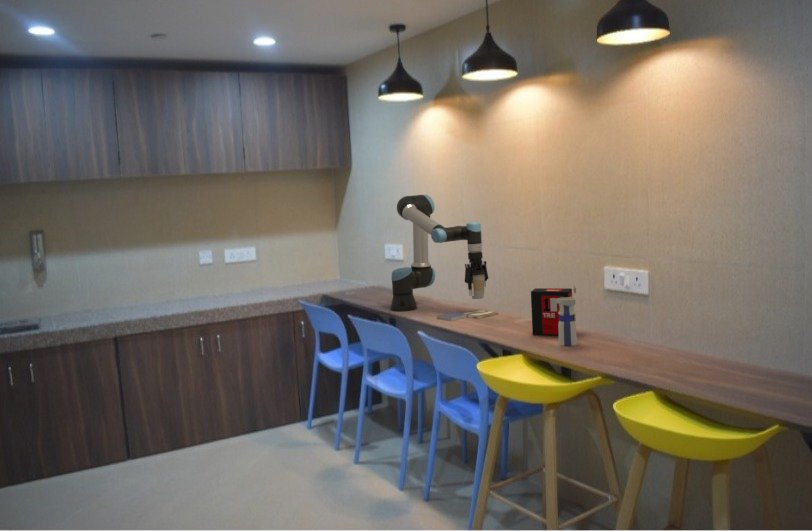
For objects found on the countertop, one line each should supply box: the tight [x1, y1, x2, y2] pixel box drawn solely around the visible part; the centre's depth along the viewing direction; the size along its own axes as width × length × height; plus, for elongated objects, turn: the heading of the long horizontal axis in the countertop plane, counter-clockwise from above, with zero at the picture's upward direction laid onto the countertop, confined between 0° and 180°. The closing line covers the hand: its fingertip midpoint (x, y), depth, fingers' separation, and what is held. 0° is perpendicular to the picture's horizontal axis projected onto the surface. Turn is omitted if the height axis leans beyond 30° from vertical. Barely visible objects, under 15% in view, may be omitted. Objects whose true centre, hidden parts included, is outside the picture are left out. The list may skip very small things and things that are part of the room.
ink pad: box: [436, 312, 468, 322], centre depth 363 cm, size 11×11×2 cm
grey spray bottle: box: [557, 285, 578, 347], centre depth 290 cm, size 8×8×25 cm
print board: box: [460, 309, 499, 320], centre depth 366 cm, size 15×15×1 cm
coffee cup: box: [470, 269, 486, 300], centre depth 365 cm, size 9×9×15 cm
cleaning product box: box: [530, 287, 573, 337], centre depth 311 cm, size 16×9×20 cm, turn 66°
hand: (477, 294), depth 365 cm, fingers closed on coffee cup, 8 cm apart
